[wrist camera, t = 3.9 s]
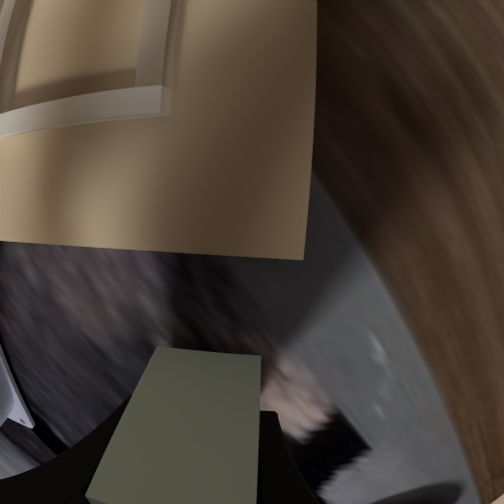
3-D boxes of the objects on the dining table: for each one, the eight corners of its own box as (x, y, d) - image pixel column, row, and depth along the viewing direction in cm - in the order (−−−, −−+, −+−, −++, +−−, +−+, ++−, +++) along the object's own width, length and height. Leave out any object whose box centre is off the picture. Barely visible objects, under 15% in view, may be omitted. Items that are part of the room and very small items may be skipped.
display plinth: (-25, 229, 12) (-57, 243, 9) (10, -41, 7) (-15, -54, 4) (298, 246, 11) (307, 272, 9) (307, -103, 6) (313, -135, 4)
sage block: (167, 414, 13) (125, 544, 6) (157, 345, 12) (85, 495, 5) (255, 424, 13) (247, 565, 6) (261, 355, 11) (255, 529, 5)
